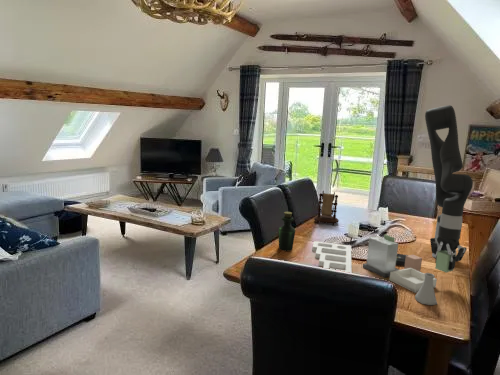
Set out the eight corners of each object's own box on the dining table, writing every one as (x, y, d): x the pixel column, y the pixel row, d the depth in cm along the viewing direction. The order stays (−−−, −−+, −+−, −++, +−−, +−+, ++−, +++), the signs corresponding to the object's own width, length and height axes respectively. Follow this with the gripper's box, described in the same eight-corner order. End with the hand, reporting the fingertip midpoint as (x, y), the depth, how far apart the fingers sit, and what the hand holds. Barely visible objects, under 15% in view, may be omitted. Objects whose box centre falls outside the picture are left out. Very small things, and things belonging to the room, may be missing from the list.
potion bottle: (295, 247, 183) (297, 211, 180) (292, 252, 176) (295, 215, 172) (278, 245, 185) (281, 209, 182) (275, 250, 178) (278, 213, 175)
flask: (430, 296, 137) (434, 270, 136) (441, 306, 130) (445, 279, 129) (411, 295, 137) (414, 270, 135) (420, 305, 130) (424, 278, 128)
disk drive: (409, 260, 176) (376, 255, 179) (410, 255, 175) (377, 250, 179) (412, 268, 166) (377, 263, 169) (413, 262, 165) (378, 257, 169)
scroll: (312, 224, 228) (315, 191, 225) (315, 218, 242) (318, 188, 239) (337, 227, 224) (340, 194, 221) (339, 221, 238) (342, 190, 234)
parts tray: (409, 275, 156) (410, 267, 155) (435, 287, 146) (436, 278, 145) (389, 280, 150) (390, 271, 150) (415, 292, 140) (416, 283, 139)
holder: (350, 289, 141) (351, 282, 141) (303, 281, 146) (303, 275, 145) (350, 251, 184) (351, 245, 184) (313, 246, 189) (314, 241, 188)
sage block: (442, 266, 150) (444, 249, 149) (452, 270, 146) (455, 253, 145) (435, 268, 148) (437, 251, 147) (445, 272, 144) (448, 255, 143)
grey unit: (379, 263, 167) (382, 231, 165) (401, 274, 157) (405, 239, 155) (362, 267, 163) (366, 233, 160) (384, 277, 152) (388, 242, 150)
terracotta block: (410, 269, 163) (412, 254, 161) (419, 273, 159) (422, 258, 158) (403, 271, 160) (405, 255, 159) (412, 275, 157) (414, 259, 155)
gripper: (427, 221, 148) (422, 262, 151) (462, 231, 136) (456, 276, 139) (439, 219, 152) (433, 259, 155) (474, 229, 140) (467, 272, 143)
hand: (444, 267), depth 147 cm, fingers closed on sage block, 4 cm apart
